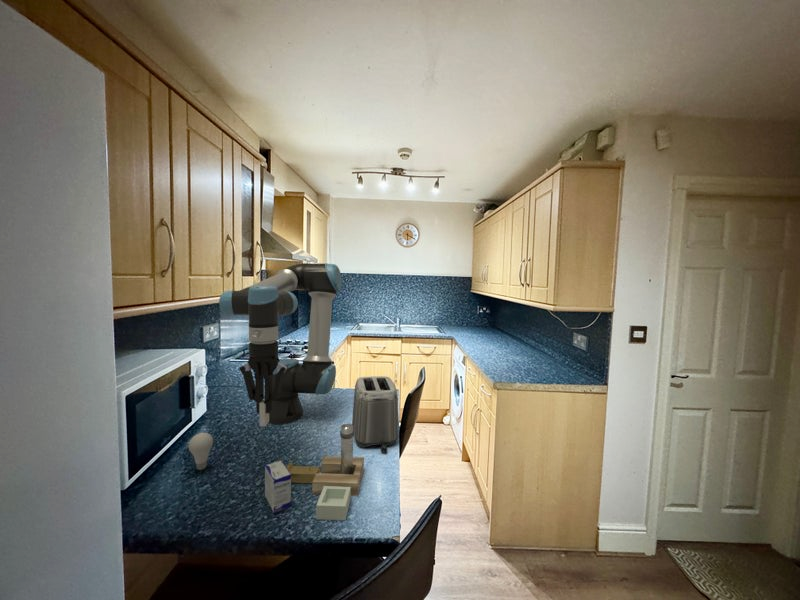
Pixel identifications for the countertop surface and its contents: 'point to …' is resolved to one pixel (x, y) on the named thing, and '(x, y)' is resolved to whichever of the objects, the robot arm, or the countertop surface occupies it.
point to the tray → (333, 503)
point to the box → (278, 486)
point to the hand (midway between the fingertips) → (264, 423)
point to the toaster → (375, 412)
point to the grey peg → (347, 448)
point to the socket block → (338, 475)
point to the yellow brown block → (302, 473)
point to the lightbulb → (201, 449)
